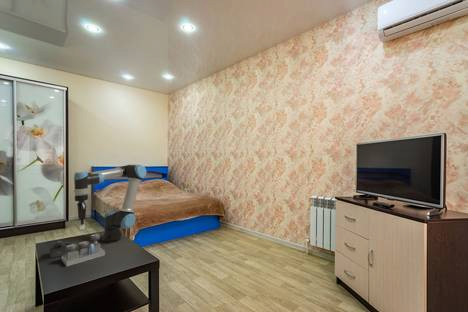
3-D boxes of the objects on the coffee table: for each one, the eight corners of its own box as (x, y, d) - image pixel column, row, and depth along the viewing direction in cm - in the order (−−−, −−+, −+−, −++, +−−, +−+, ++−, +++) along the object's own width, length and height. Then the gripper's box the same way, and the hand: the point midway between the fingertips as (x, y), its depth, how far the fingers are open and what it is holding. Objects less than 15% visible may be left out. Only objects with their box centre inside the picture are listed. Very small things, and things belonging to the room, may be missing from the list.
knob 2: (98, 242, 161) (98, 232, 161) (101, 244, 157) (101, 234, 158) (89, 245, 157) (89, 234, 157) (92, 247, 153) (92, 236, 153)
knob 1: (75, 253, 151) (75, 242, 151) (77, 255, 147) (77, 245, 147) (65, 256, 146) (65, 245, 147) (67, 258, 143) (67, 247, 143)
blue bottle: (93, 252, 153) (93, 243, 153) (94, 253, 152) (94, 244, 151) (89, 253, 151) (89, 244, 151) (90, 254, 150) (90, 245, 149)
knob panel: (98, 249, 165) (98, 240, 165) (105, 255, 155) (105, 245, 155) (61, 260, 148) (61, 249, 148) (66, 266, 139) (66, 255, 139)
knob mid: (87, 250, 156) (87, 240, 156) (89, 252, 152) (89, 242, 152) (77, 253, 152) (77, 242, 152) (80, 255, 148) (80, 244, 148)
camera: (69, 250, 165) (69, 236, 165) (75, 253, 160) (75, 239, 160) (46, 256, 154) (46, 242, 154) (52, 260, 148) (52, 245, 149)
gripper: (72, 194, 153) (73, 228, 153) (77, 196, 144) (77, 232, 144) (85, 192, 159) (85, 225, 159) (90, 194, 150) (91, 229, 150)
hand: (82, 228), depth 152 cm, fingers closed
